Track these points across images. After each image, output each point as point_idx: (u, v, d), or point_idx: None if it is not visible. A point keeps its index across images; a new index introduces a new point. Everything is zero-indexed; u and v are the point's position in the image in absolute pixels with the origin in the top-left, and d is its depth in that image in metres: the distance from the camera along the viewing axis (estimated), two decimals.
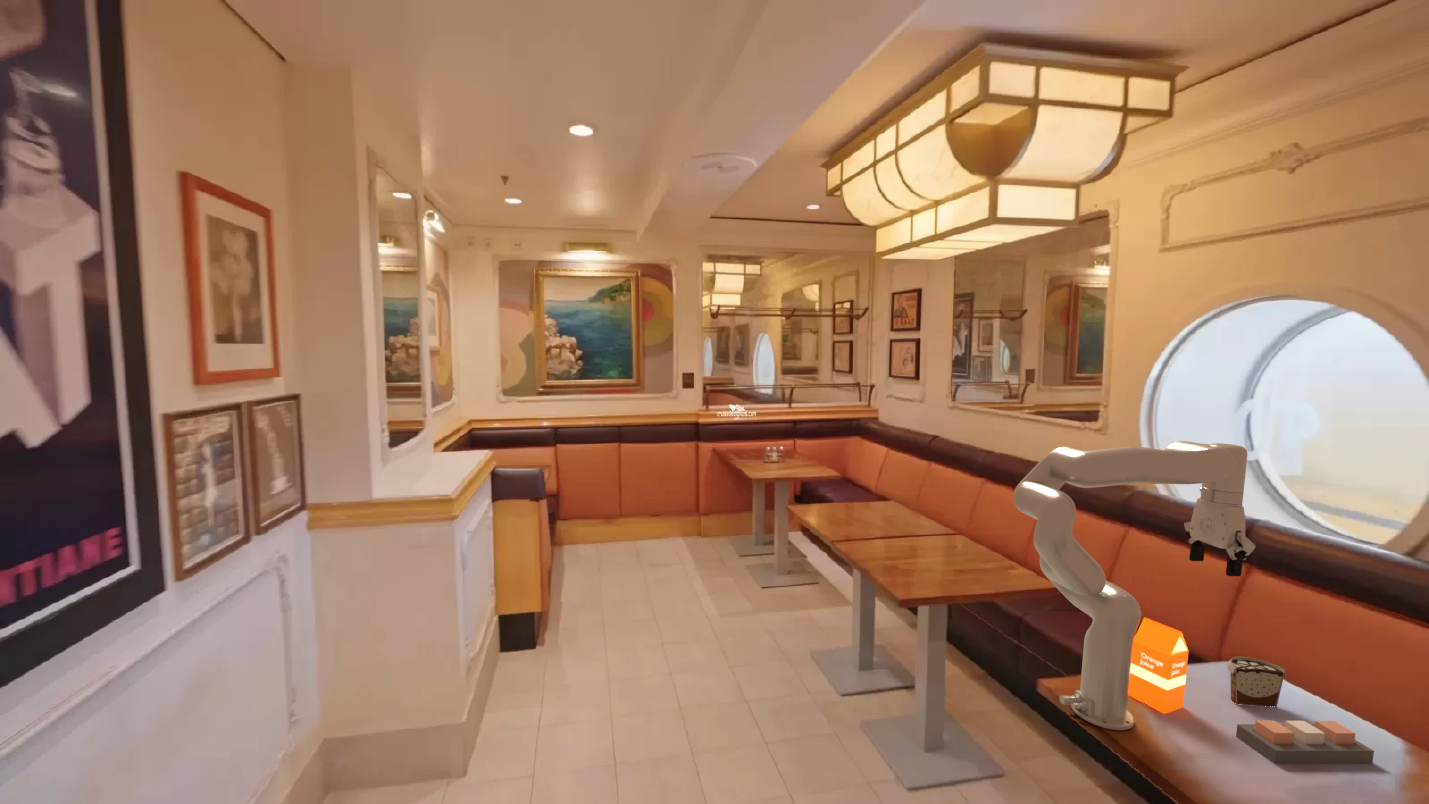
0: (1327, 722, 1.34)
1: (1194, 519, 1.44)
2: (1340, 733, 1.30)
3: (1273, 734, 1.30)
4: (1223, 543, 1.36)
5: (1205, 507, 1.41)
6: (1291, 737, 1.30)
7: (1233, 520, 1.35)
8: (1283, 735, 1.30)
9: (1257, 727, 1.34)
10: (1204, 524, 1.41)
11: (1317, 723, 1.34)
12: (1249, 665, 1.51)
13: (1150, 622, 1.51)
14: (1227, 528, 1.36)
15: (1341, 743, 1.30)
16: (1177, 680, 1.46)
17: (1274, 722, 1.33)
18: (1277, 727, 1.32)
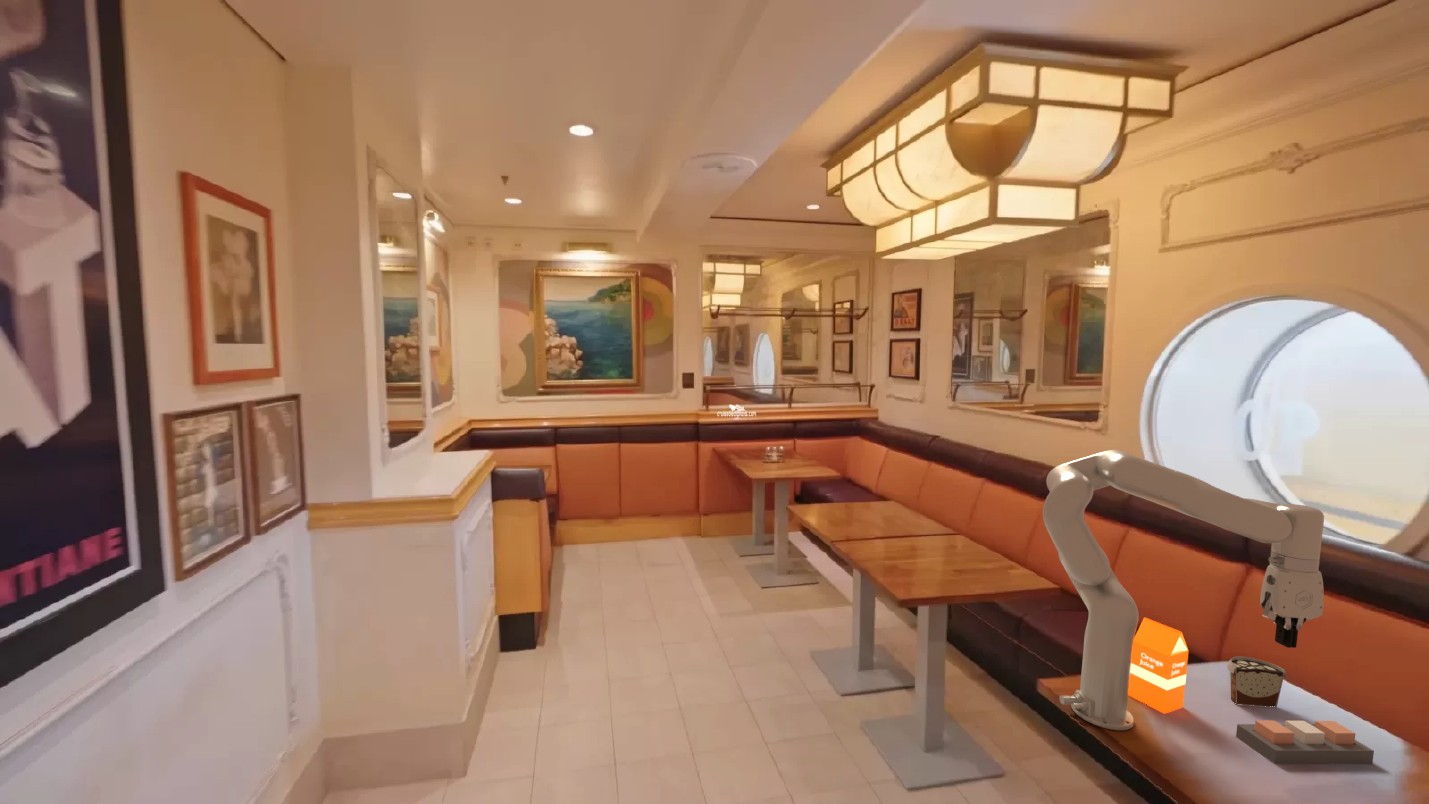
0: (1327, 722, 1.34)
1: (1286, 596, 1.26)
2: (1340, 733, 1.30)
3: (1273, 734, 1.30)
4: (1321, 612, 1.27)
5: (1301, 580, 1.26)
6: (1291, 737, 1.30)
7: None
8: (1283, 735, 1.30)
9: (1257, 727, 1.34)
10: (1300, 598, 1.27)
11: (1317, 723, 1.34)
12: (1249, 665, 1.51)
13: (1150, 622, 1.51)
14: (1323, 595, 1.27)
15: (1341, 743, 1.30)
16: (1177, 680, 1.46)
17: (1274, 722, 1.33)
18: (1277, 727, 1.32)
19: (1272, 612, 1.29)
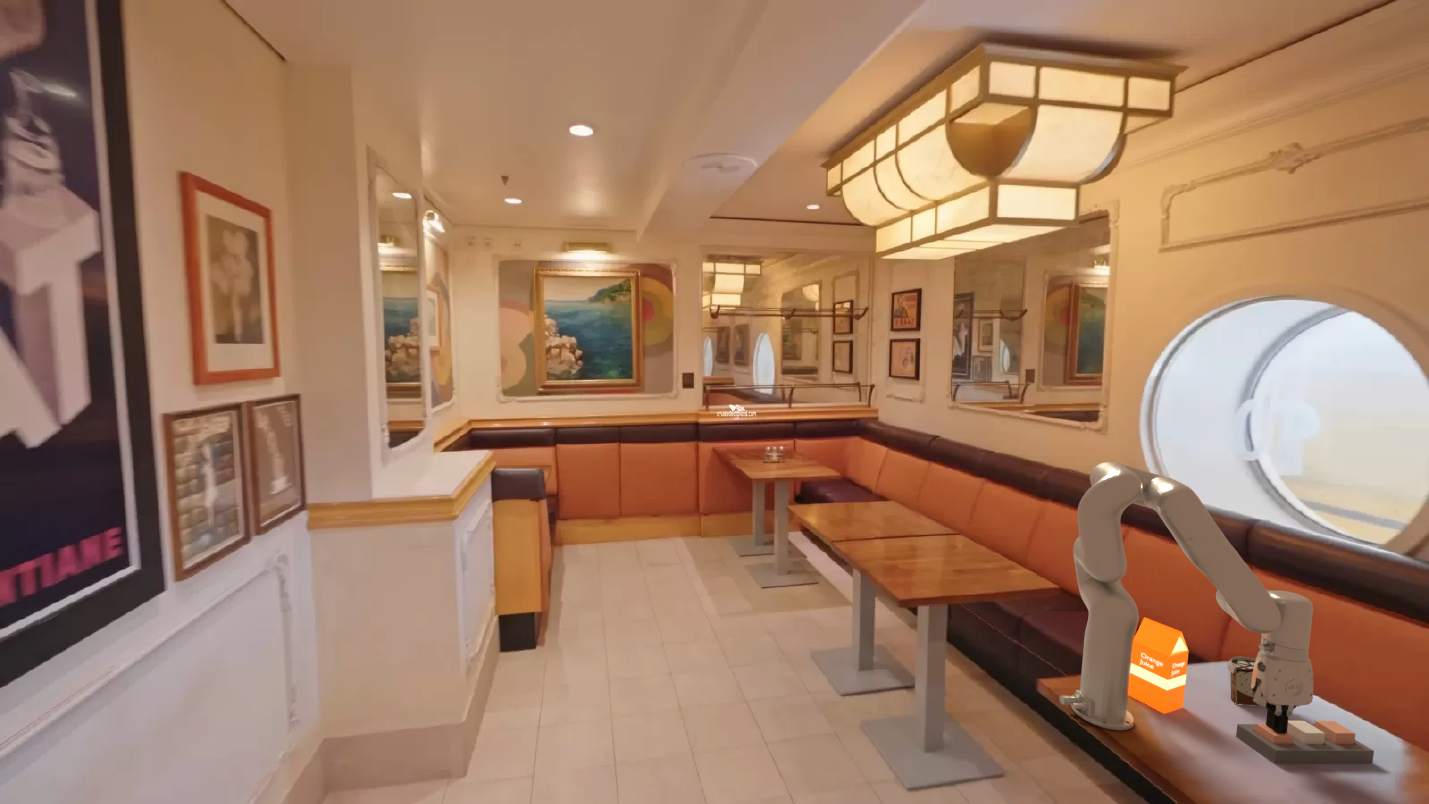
0: (1327, 722, 1.34)
1: (1277, 684, 1.28)
2: (1340, 733, 1.30)
3: (1272, 737, 1.30)
4: (1311, 699, 1.29)
5: (1291, 668, 1.28)
6: (1291, 740, 1.30)
7: None
8: (1283, 738, 1.30)
9: (1256, 729, 1.34)
10: (1290, 686, 1.28)
11: (1317, 723, 1.34)
12: (1250, 665, 1.51)
13: (1150, 622, 1.51)
14: (1312, 682, 1.29)
15: (1341, 743, 1.30)
16: (1177, 680, 1.46)
17: None
18: None
19: (1263, 698, 1.30)
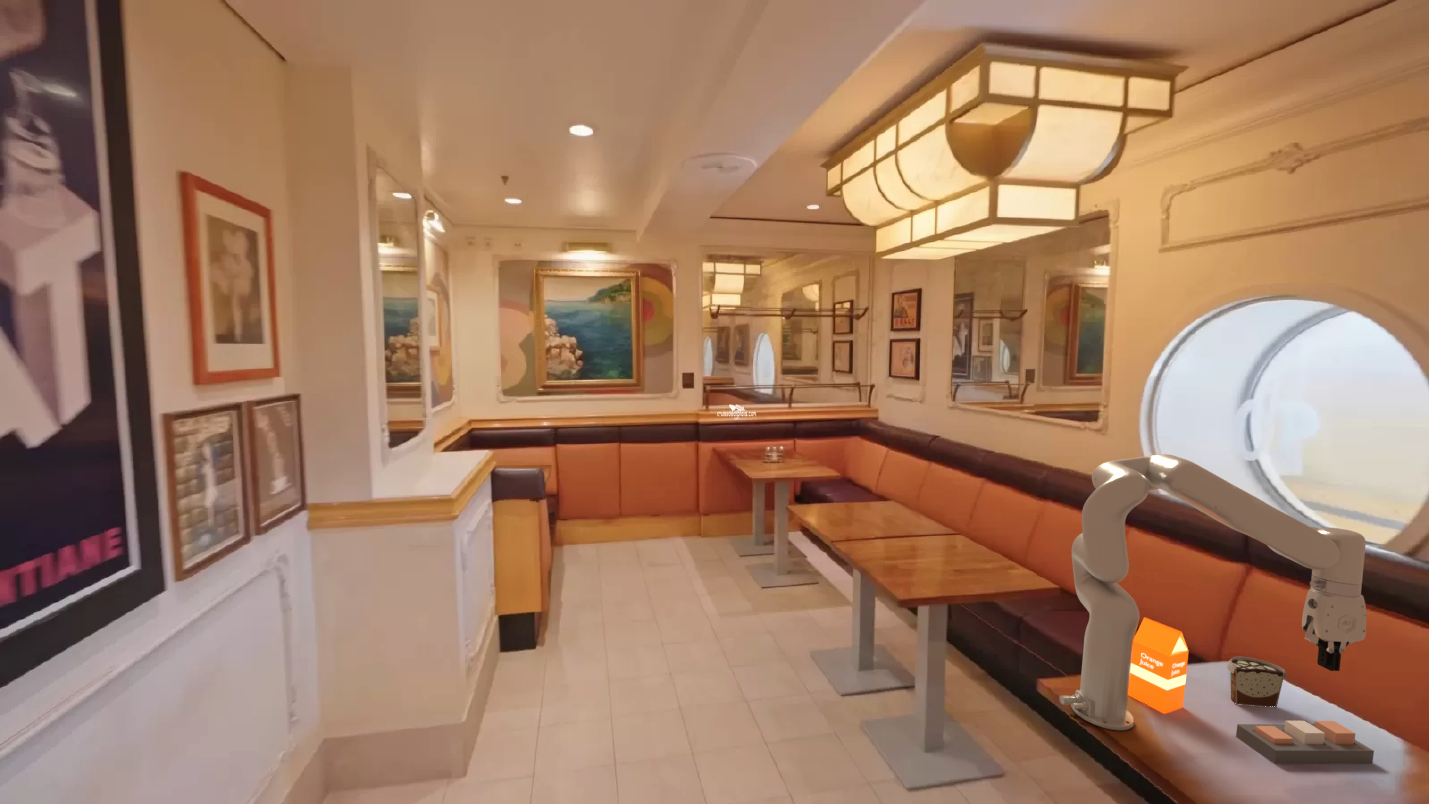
0: (1327, 722, 1.34)
1: (1329, 620, 1.27)
2: (1340, 733, 1.30)
3: (1272, 739, 1.30)
4: (1364, 635, 1.28)
5: (1343, 604, 1.27)
6: (1290, 743, 1.30)
7: None
8: (1282, 740, 1.30)
9: (1256, 732, 1.34)
10: (1342, 622, 1.27)
11: (1317, 723, 1.34)
12: (1250, 665, 1.51)
13: (1150, 622, 1.51)
14: (1365, 618, 1.28)
15: (1341, 743, 1.30)
16: (1177, 680, 1.46)
17: (1273, 727, 1.34)
18: (1276, 733, 1.32)
19: (1314, 636, 1.30)
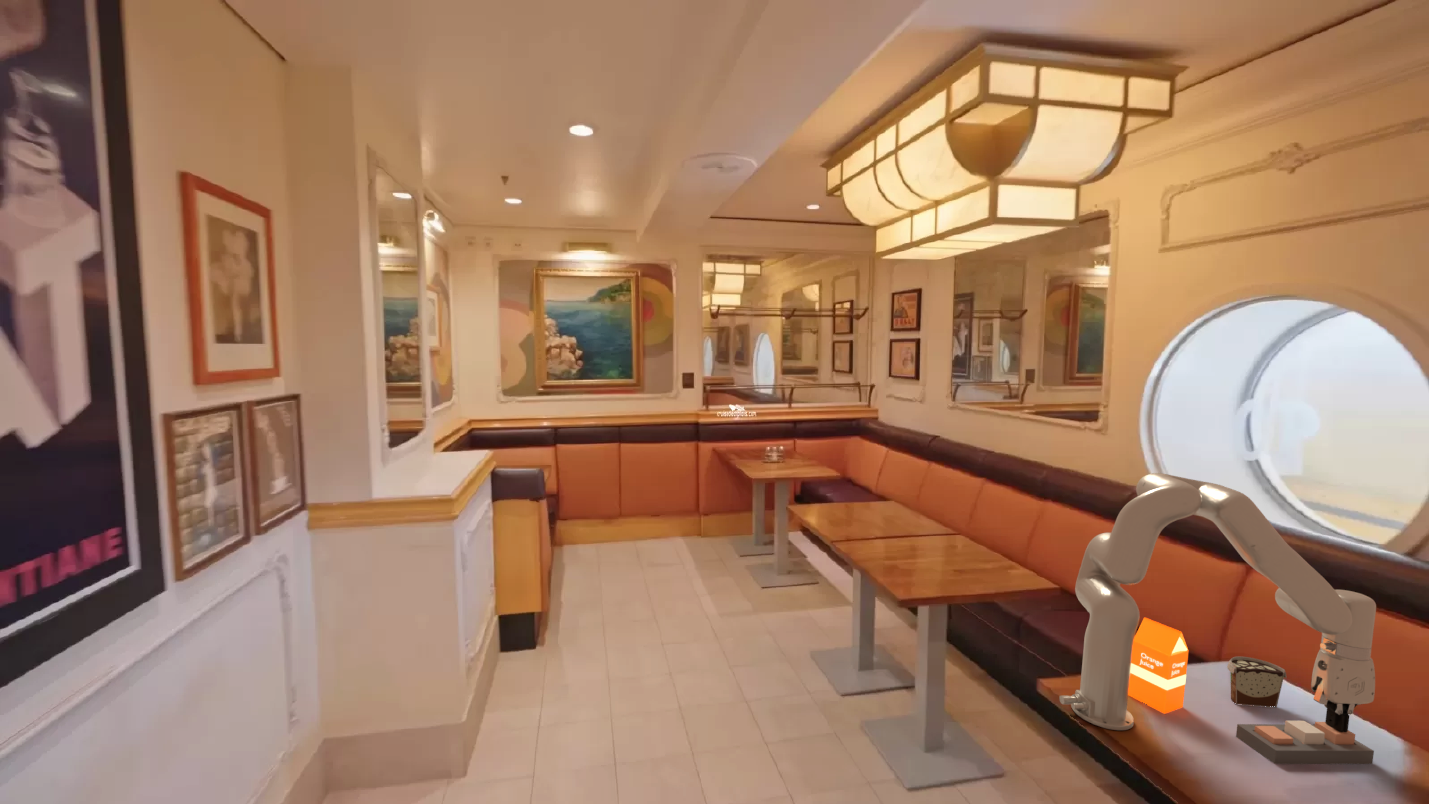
0: None
1: (1339, 683, 1.29)
2: (1340, 735, 1.30)
3: (1272, 739, 1.30)
4: (1372, 698, 1.29)
5: (1353, 667, 1.28)
6: (1290, 743, 1.30)
7: None
8: (1282, 740, 1.30)
9: (1256, 732, 1.34)
10: (1352, 685, 1.29)
11: (1317, 724, 1.34)
12: (1249, 665, 1.51)
13: (1150, 622, 1.51)
14: (1374, 681, 1.29)
15: (1341, 744, 1.31)
16: (1177, 680, 1.46)
17: (1273, 727, 1.34)
18: (1276, 733, 1.32)
19: (1324, 697, 1.31)
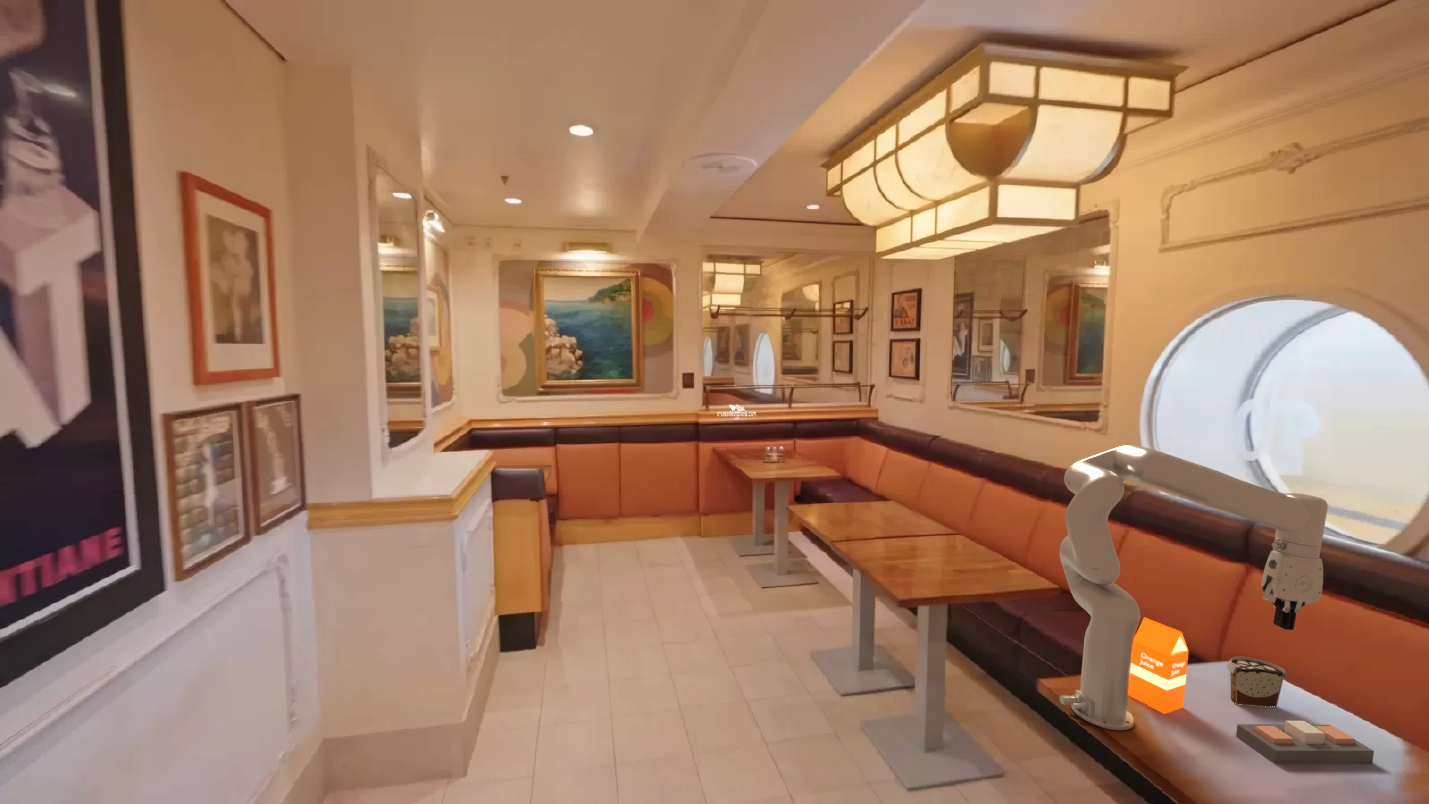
0: (1326, 728, 1.34)
1: (1287, 580, 1.33)
2: (1339, 739, 1.30)
3: (1272, 739, 1.30)
4: (1319, 596, 1.33)
5: (1302, 565, 1.32)
6: (1290, 743, 1.30)
7: None
8: (1282, 740, 1.30)
9: (1256, 732, 1.34)
10: (1300, 583, 1.33)
11: None
12: (1249, 665, 1.51)
13: (1150, 622, 1.51)
14: (1322, 581, 1.33)
15: None
16: (1177, 680, 1.46)
17: (1273, 727, 1.34)
18: (1276, 733, 1.32)
19: (1272, 595, 1.35)
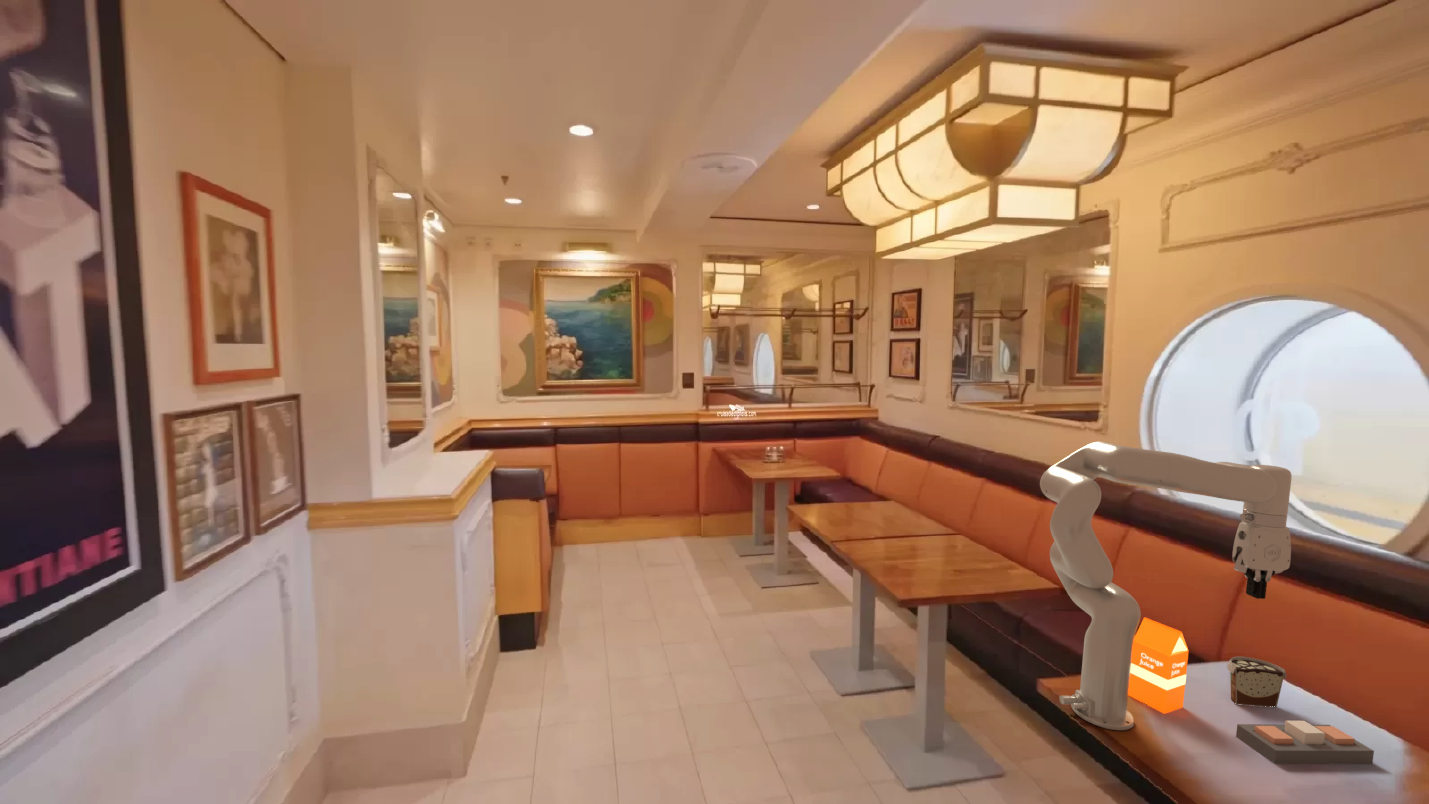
0: (1326, 728, 1.34)
1: (1256, 550, 1.35)
2: (1339, 739, 1.30)
3: (1272, 739, 1.30)
4: (1288, 565, 1.36)
5: (1269, 534, 1.35)
6: (1290, 743, 1.30)
7: None
8: (1282, 740, 1.30)
9: (1256, 732, 1.34)
10: (1268, 552, 1.36)
11: None
12: (1249, 665, 1.51)
13: (1150, 622, 1.51)
14: (1290, 549, 1.36)
15: None
16: (1177, 680, 1.46)
17: (1273, 727, 1.34)
18: (1276, 733, 1.32)
19: (1243, 565, 1.38)
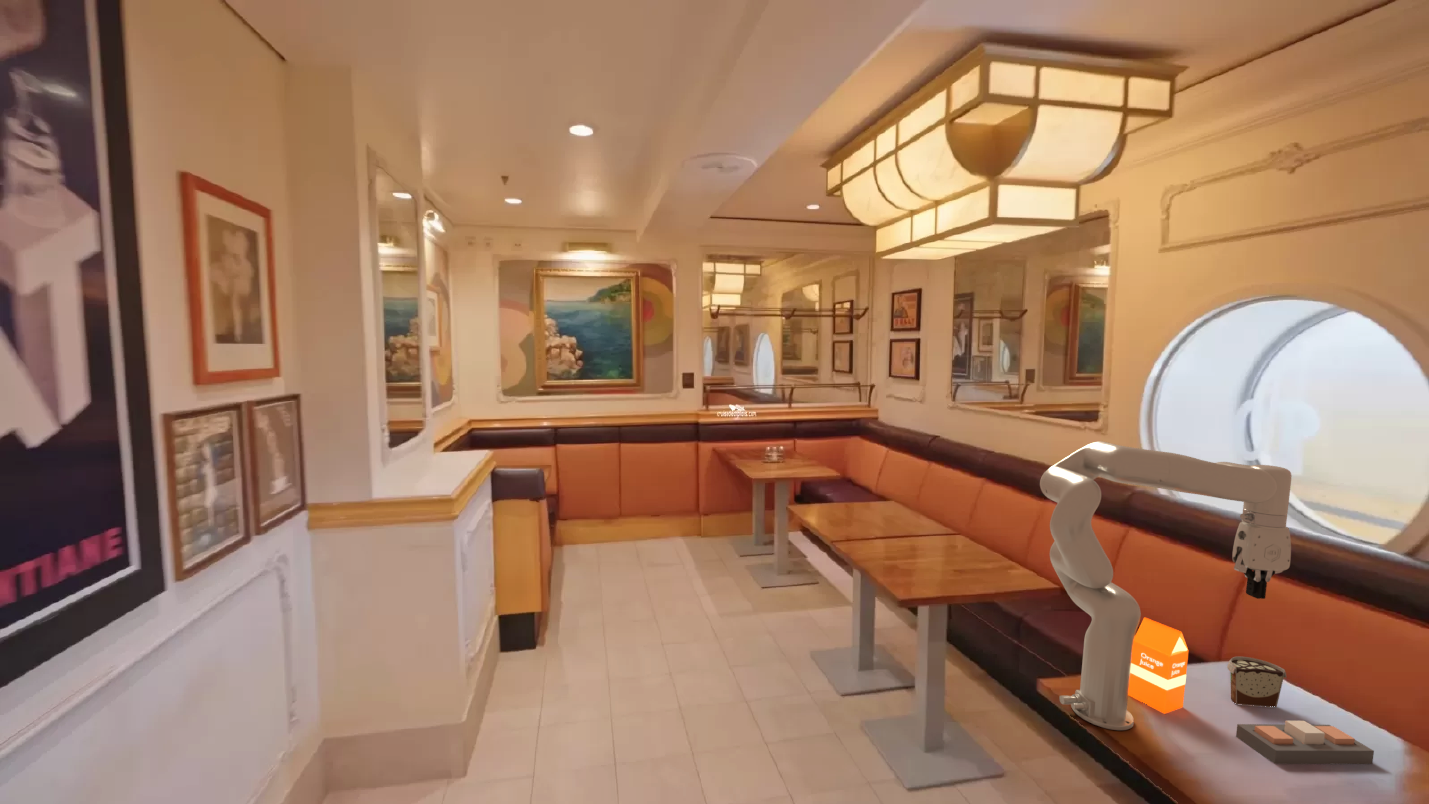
0: (1326, 728, 1.34)
1: (1256, 550, 1.35)
2: (1339, 739, 1.30)
3: (1272, 739, 1.30)
4: (1288, 564, 1.36)
5: (1269, 534, 1.35)
6: (1290, 743, 1.30)
7: None
8: (1282, 740, 1.30)
9: (1256, 732, 1.34)
10: (1268, 552, 1.36)
11: None
12: (1249, 665, 1.51)
13: (1150, 622, 1.51)
14: (1290, 549, 1.36)
15: None
16: (1177, 680, 1.46)
17: (1273, 727, 1.34)
18: (1276, 733, 1.32)
19: (1243, 565, 1.38)
